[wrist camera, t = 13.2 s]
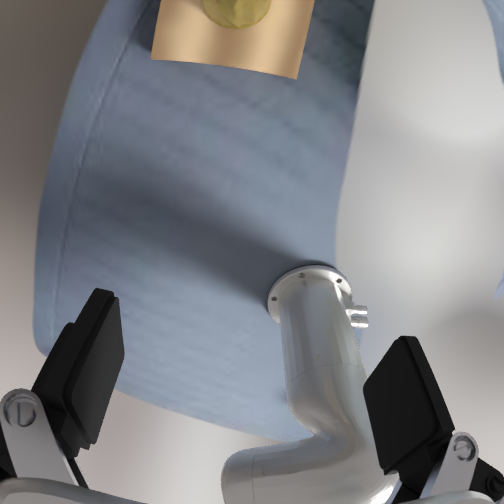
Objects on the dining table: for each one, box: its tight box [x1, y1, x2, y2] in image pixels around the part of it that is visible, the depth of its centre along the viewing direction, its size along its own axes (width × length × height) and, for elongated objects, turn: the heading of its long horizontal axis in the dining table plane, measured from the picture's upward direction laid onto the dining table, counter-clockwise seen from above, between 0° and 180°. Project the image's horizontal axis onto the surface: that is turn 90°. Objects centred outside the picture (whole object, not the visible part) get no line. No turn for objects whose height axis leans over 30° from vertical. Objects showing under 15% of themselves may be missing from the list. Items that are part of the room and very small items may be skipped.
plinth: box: [151, 0, 315, 79], centre depth 23 cm, size 14×14×4 cm
